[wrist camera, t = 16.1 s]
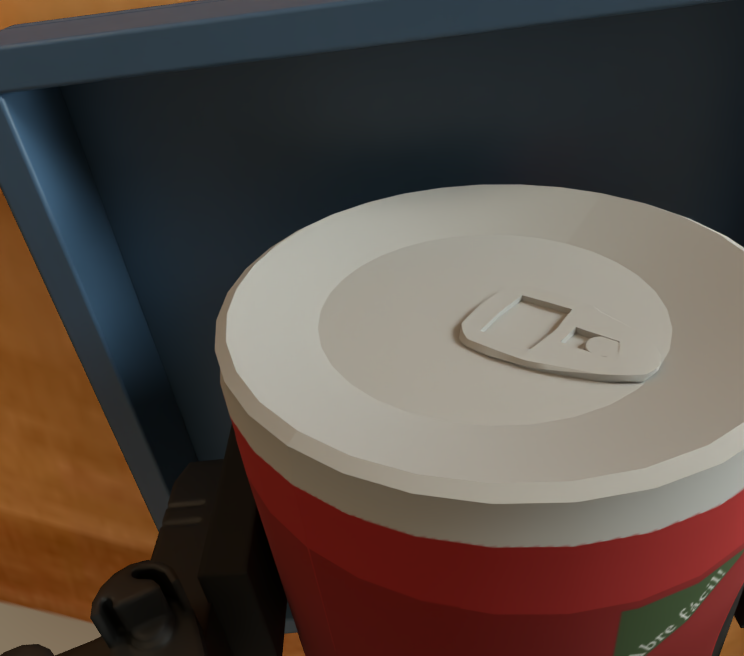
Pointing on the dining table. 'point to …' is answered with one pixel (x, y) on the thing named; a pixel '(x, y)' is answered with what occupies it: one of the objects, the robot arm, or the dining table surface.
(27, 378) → the dining table surface
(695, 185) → the tray
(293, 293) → the canned food
